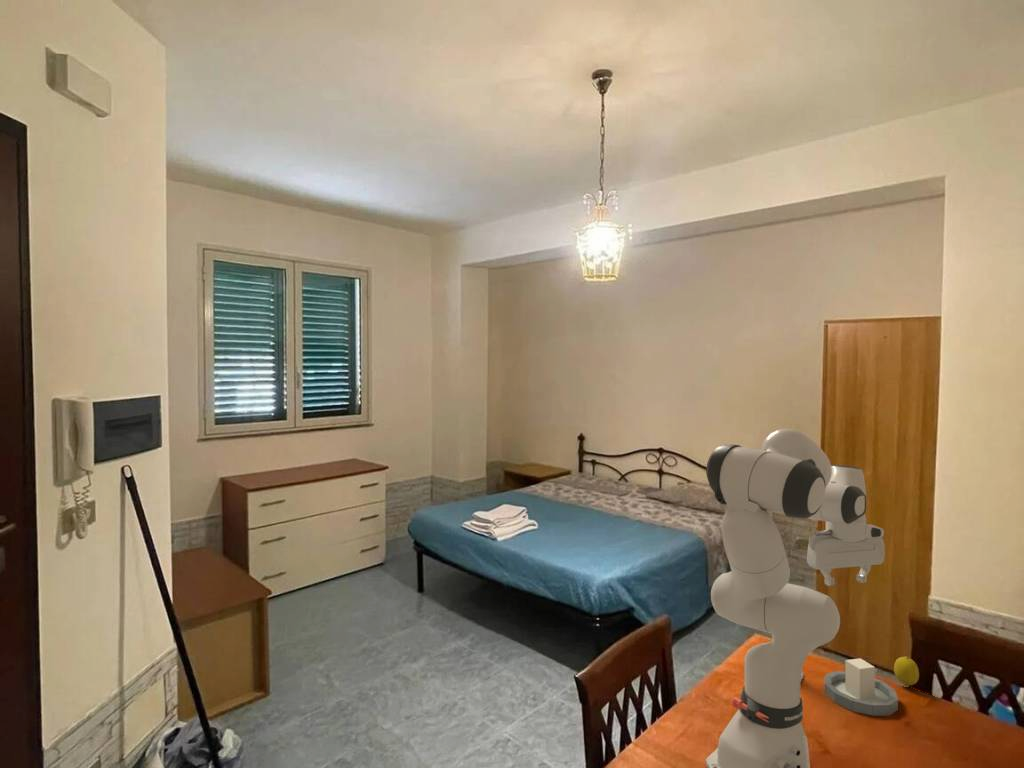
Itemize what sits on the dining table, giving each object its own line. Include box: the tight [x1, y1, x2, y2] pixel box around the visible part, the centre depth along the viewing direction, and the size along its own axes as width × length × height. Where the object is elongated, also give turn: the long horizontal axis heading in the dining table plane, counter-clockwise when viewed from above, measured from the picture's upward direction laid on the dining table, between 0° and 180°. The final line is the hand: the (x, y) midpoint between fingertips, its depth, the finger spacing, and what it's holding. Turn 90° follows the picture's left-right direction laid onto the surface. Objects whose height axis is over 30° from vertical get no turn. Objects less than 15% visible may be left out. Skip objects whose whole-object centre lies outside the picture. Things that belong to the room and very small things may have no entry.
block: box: [844, 657, 876, 700], centre depth 146 cm, size 5×5×8 cm
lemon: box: [893, 656, 920, 687], centre depth 151 cm, size 6×6×8 cm
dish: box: [823, 670, 899, 717], centre depth 146 cm, size 16×16×3 cm
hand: (845, 583), depth 142 cm, fingers open, 8 cm apart
